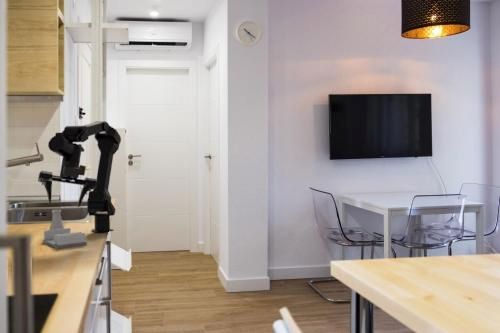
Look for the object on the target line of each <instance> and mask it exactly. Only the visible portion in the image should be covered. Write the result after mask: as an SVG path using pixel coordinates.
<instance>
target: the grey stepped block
mask: <svg viewBox="0 0 500 333" xmlns="http://www.w3.org/2000/svg"><path fill="white" fill-rule="evenodd" d="M85 233H86V232H82V231H78V232H77V231H75V232H72V231H71V227H64V229H56V230H43V239H42V243H43V244H45V245H48V246H49V247H52V248H54V249H63V248H71V247H79V246H87V244H88V243H87V241H86V234H85Z"/></svg>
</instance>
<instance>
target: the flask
mask: <svg viewBox="0 0 500 333" xmlns="http://www.w3.org/2000/svg"><path fill="white" fill-rule="evenodd" d="M61 212H62V209H53V210H51V213H52V220H51V223H50V226H49V230H56V229H64V228H65V226H64V223H63V220H62V216H61Z"/></svg>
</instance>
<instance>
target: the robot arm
mask: <svg viewBox="0 0 500 333" xmlns="http://www.w3.org/2000/svg"><path fill="white" fill-rule="evenodd" d="M63 129H64V130H62V132H55V135H54V136H52V137H51V138H50V139H49V141H48V144H47V146H48V149H49V151H51V152H53V153H55V154H56V155H58V156H61V157H62V160H61V167H60V172H59V175H54V174H53V171H47V170H41V171H40V172H39V173H38V178H37V182H39V183H41V185H43V186H44V188H45V191H46V195H47V199H48V200H47V201H48V204H51V202H52V191H53V188H52V186H53V182H57V183H58V182H59V183H64V184H65V183H66V184H71V185H72V184H73V185H80V186H82V188H81V190H80V194H79V197H78V202H77V208H80V207H81V204H82V202H83V200H84V198H85V195H87V193H88V195H87V196H88V197H87V200H86V206H87V212H88V216H90V217H91V216H94V217H93V219H94V220H93V221H94V228H92V229H91V231H92V232H95V233H99V234H100V233H107V232H113V231H114V229H113V228H111V216H115V214H116V208H115V205H114V204H113V202H112V196H111V194H110V192H109V186H110V179H111V172H112V166H113V161H114V160H113V159H114V155H115V154H116V152H117V151H118V150H119V148H120V144H121V142H122V137H121V134H119V132H118V130H117V129H115V128H114V127H113V126H111V125H109V123H108V122H107V121H105V120H102V121H101V120H100V121H99V120H98V121H97V120H95V121H94V122H91V123H88V124H84V125H66V126H65V127H64V128H63ZM93 135H94V139H95V141H96V142H97V147H98V149H99V151H100V155H99V160H98V168H97V174H96V178H93V177H92V178H91V177H85V178H84V179H79V176H85V174H86V165H81V164H80V163H81V157H82V156H81V155H82V153H83V152H85V149H84V147H83V146H82V144H80V143H85V142H86V141H88V140H89V137H91V136H93ZM77 143H78V144H77Z"/></svg>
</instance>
